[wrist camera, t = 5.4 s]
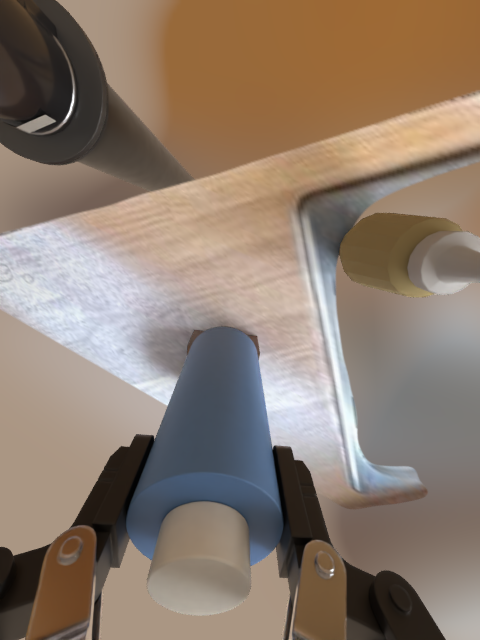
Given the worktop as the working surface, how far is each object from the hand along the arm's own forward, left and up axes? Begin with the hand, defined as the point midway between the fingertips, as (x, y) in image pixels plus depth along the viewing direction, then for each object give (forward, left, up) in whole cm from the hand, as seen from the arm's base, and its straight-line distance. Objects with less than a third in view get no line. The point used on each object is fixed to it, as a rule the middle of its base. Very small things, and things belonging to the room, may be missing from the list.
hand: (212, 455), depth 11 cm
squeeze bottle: (-9, +16, -24) cm, 31 cm away
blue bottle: (0, 0, -9) cm, 9 cm away
